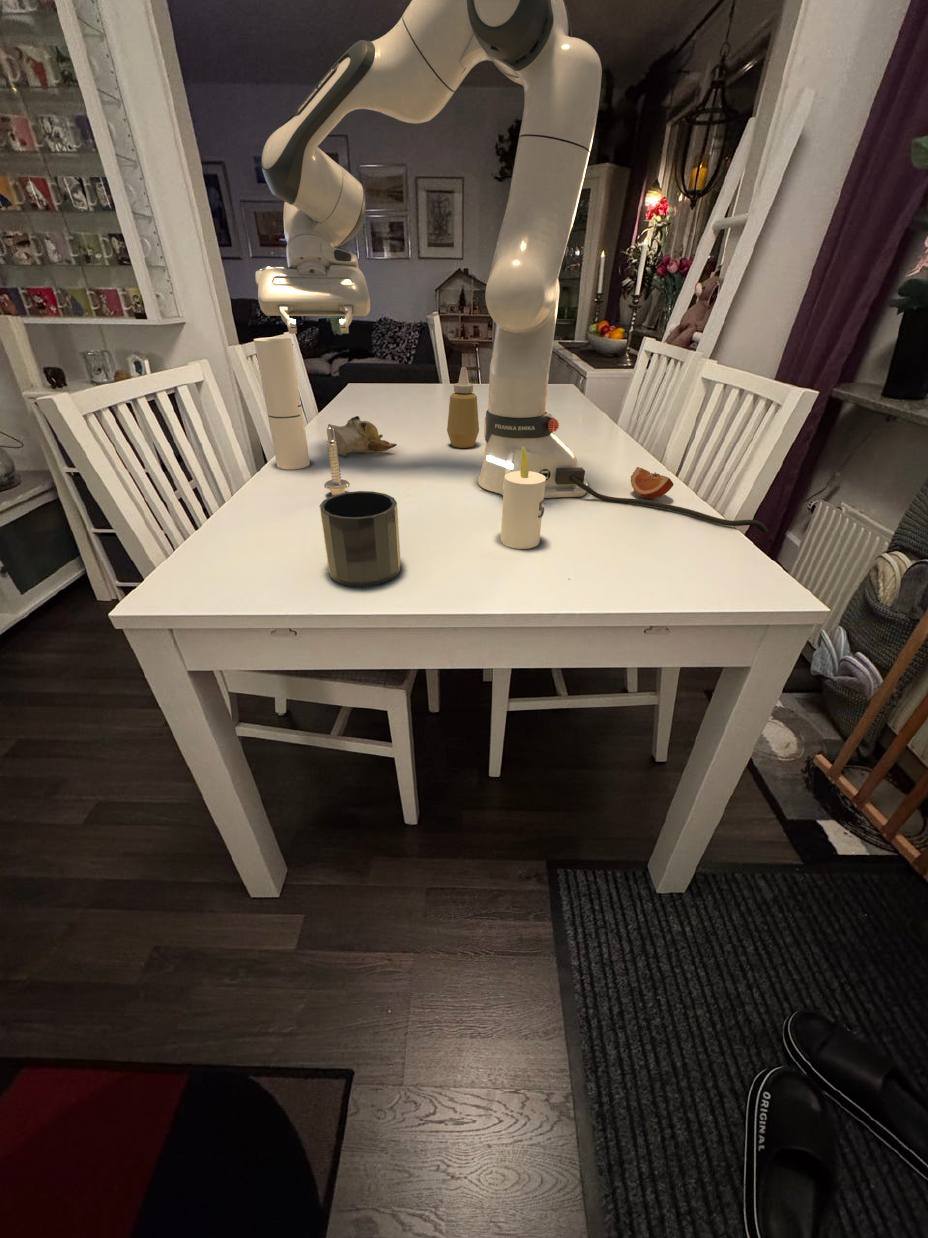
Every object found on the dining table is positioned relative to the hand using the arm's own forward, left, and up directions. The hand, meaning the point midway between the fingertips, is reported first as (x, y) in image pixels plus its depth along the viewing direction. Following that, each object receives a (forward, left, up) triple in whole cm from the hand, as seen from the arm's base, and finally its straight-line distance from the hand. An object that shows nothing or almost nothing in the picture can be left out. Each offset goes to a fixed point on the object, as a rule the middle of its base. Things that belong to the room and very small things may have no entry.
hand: (318, 331), depth 97 cm
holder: (-16, +42, -27) cm, 52 cm away
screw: (-4, +12, -27) cm, 30 cm away
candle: (-39, +30, -27) cm, 56 cm away
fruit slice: (-65, +7, -27) cm, 70 cm away
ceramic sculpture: (-2, -17, -27) cm, 32 cm away
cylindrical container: (+11, -6, -27) cm, 30 cm away
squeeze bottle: (-26, -26, -27) cm, 46 cm away
